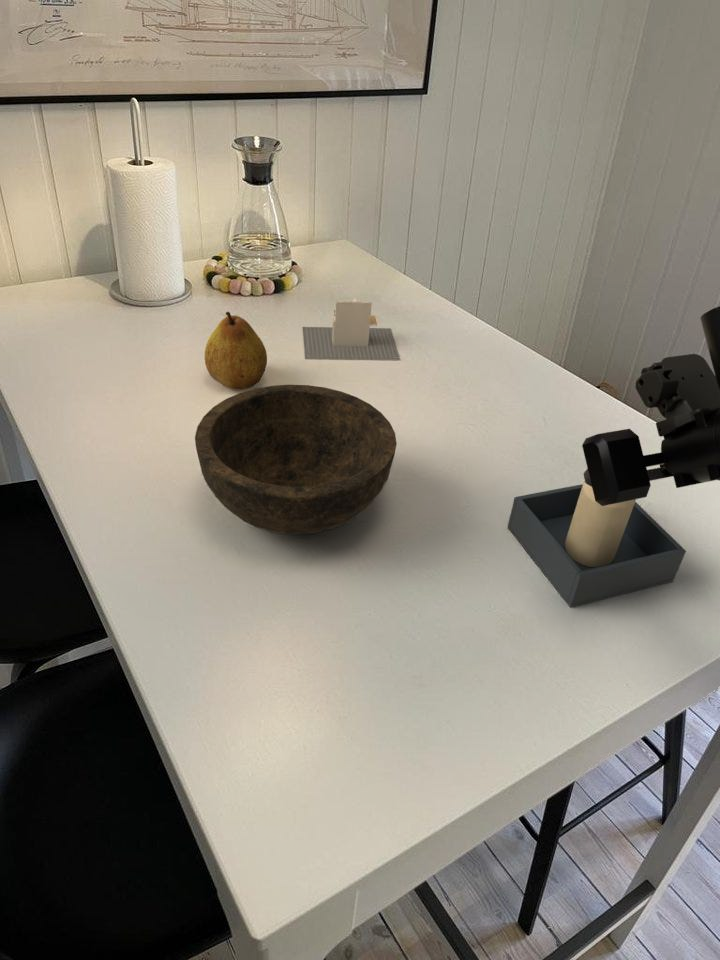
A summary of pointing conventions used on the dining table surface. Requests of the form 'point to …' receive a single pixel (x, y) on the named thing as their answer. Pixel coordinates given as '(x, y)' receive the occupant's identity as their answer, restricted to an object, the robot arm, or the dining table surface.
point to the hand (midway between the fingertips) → (623, 470)
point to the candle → (596, 529)
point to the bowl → (295, 456)
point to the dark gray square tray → (635, 566)
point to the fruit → (235, 354)
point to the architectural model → (350, 336)
